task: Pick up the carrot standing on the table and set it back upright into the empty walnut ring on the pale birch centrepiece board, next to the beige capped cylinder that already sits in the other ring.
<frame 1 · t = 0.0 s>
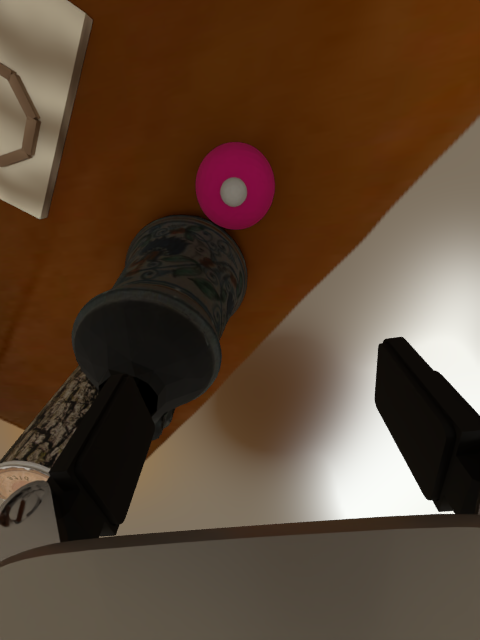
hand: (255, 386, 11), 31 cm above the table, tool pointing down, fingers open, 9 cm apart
paper tube: (129, 338, 47), on the table
beer stein: (194, 279, 42), on the table
pepper mill: (239, 178, 36), on the table
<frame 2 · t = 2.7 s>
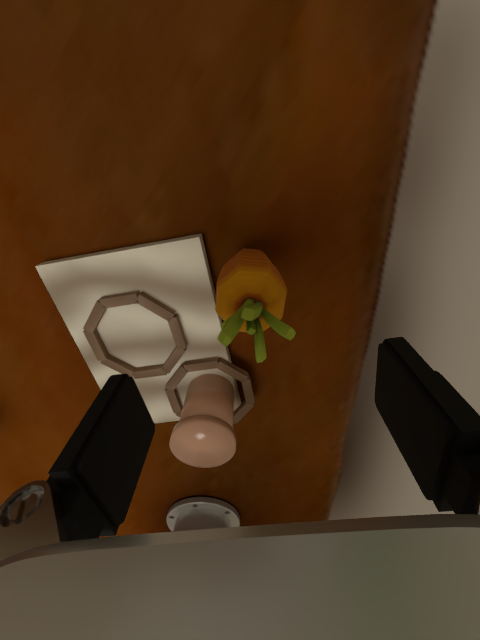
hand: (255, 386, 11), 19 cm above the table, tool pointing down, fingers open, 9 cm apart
stand: (156, 342, 32), on the table
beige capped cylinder: (207, 416, 31), point 5 cm above the table
carrot: (248, 256, 28), on the table
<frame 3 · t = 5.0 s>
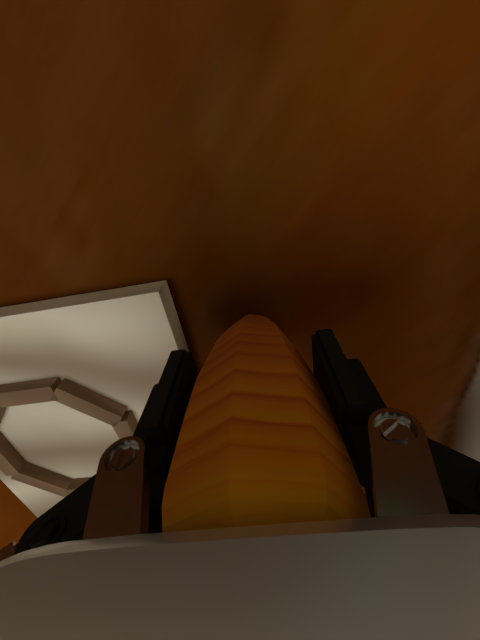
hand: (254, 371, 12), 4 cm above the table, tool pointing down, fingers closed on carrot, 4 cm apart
stand: (105, 438, 20), on the table
carrot: (252, 317, 16), on the table, touching gripper
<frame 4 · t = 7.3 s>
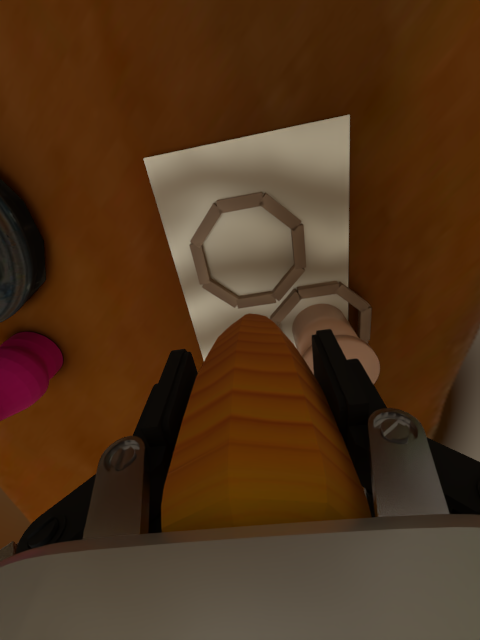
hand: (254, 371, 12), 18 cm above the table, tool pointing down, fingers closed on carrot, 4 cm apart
stand: (261, 267, 28), on the table
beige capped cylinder: (327, 348, 26), point 5 cm above the table
carrot: (252, 317, 16), point 13 cm above the table, touching gripper
pepper mill: (37, 352, 34), on the table
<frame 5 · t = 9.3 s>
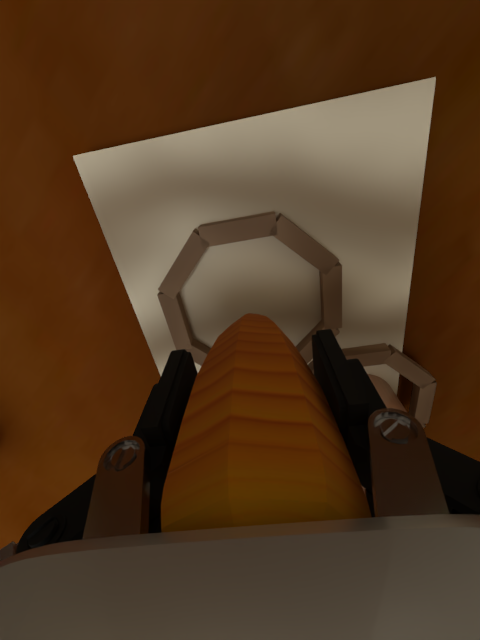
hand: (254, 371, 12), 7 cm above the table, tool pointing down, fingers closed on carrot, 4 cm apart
stand: (270, 319, 19), on the table
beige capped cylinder: (373, 449, 17), point 5 cm above the table
carrot: (252, 316, 16), point 3 cm above the table, touching gripper
when the fingers open (7 cm above the table, at t = 10.0 s): carrot drops 1 cm, resting on stand.
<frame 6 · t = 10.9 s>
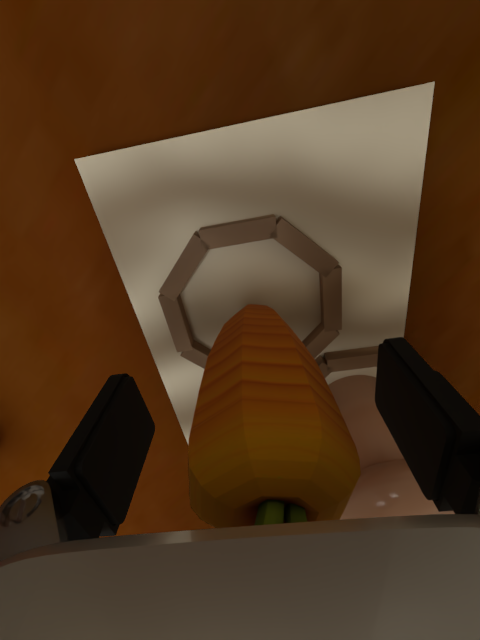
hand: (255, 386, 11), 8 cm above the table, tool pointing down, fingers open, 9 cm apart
stand: (270, 321, 19), on the table
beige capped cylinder: (373, 451, 17), point 5 cm above the table
carrot: (253, 307, 17), point 1 cm above the table, touching stand
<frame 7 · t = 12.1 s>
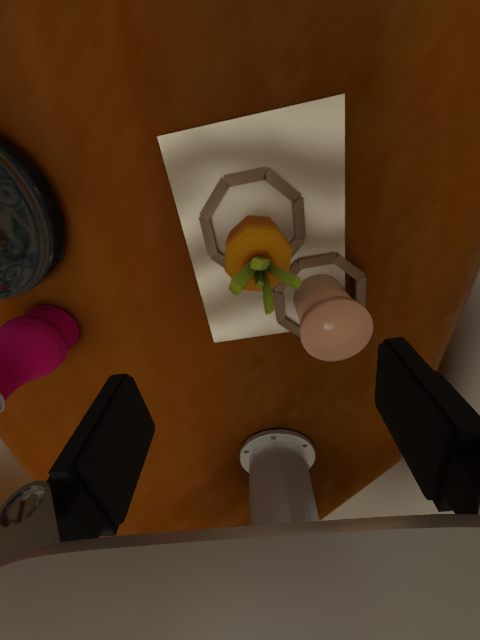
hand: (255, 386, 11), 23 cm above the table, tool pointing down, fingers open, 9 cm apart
stand: (264, 240, 30), on the table
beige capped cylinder: (326, 313, 29), point 5 cm above the table
carrot: (253, 227, 28), point 1 cm above the table, touching stand
pepper mill: (55, 325, 36), on the table
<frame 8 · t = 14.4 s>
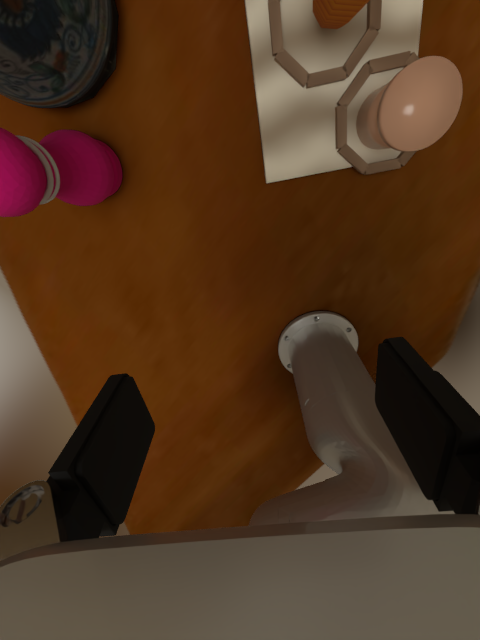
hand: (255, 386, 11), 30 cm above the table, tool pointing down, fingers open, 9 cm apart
stand: (330, 48, 29), on the table
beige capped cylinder: (399, 113, 27), point 5 cm above the table
carrot: (323, 20, 27), point 1 cm above the table, touching stand
pepper mill: (97, 169, 34), on the table
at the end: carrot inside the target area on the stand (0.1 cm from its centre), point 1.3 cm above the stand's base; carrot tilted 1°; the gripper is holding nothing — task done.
